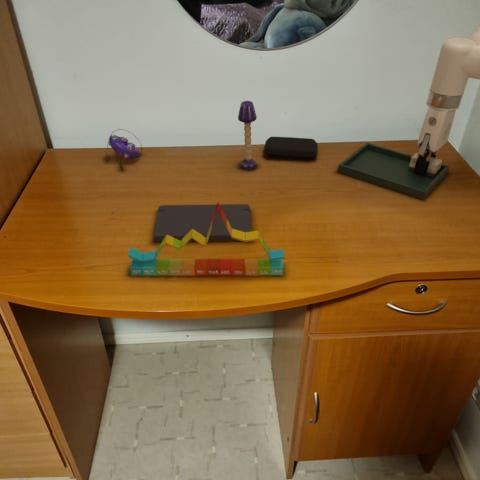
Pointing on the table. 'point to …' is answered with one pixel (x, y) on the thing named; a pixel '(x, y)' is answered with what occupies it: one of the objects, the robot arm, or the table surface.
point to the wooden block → (432, 169)
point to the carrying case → (291, 148)
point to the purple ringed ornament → (123, 147)
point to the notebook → (201, 221)
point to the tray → (389, 171)
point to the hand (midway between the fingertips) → (422, 170)
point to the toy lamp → (247, 132)
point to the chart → (153, 266)
